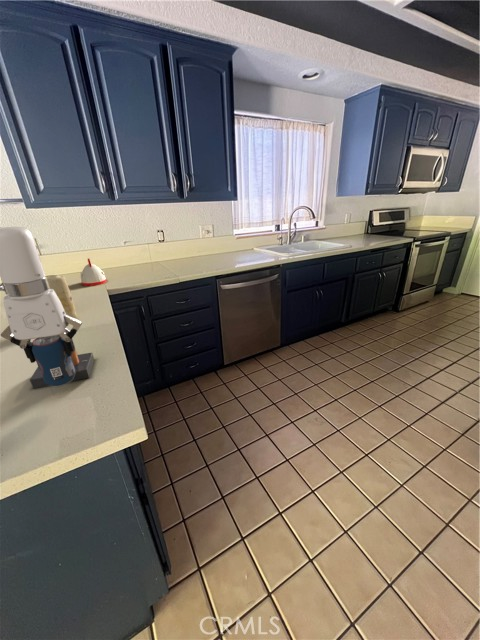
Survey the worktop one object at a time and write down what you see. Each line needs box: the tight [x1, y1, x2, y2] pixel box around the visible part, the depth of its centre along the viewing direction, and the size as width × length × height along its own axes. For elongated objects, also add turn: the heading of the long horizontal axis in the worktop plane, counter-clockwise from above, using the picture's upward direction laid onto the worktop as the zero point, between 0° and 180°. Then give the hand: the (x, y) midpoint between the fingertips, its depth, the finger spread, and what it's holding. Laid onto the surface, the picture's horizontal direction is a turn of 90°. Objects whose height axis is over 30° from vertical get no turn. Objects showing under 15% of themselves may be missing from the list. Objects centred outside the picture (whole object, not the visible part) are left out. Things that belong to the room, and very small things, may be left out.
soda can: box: [31, 335, 76, 388], centre depth 65 cm, size 7×7×12 cm
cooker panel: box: [29, 352, 95, 389], centre depth 79 cm, size 14×10×3 cm
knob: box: [71, 348, 79, 366], centre depth 78 cm, size 4×4×6 cm
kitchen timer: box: [80, 258, 107, 287], centre depth 165 cm, size 14×14×15 cm
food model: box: [45, 274, 78, 319], centre depth 110 cm, size 10×7×20 cm
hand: (53, 356), depth 65 cm, fingers closed on soda can, 7 cm apart
